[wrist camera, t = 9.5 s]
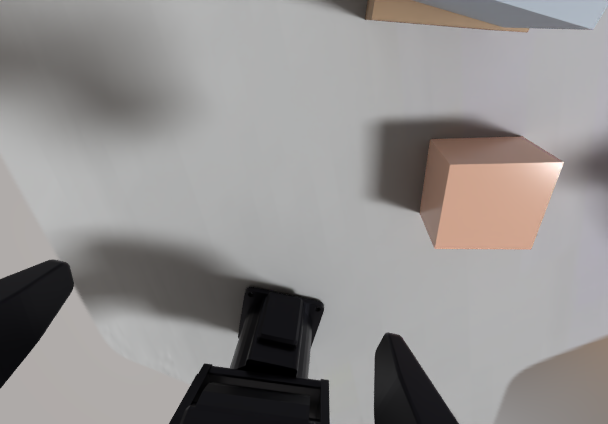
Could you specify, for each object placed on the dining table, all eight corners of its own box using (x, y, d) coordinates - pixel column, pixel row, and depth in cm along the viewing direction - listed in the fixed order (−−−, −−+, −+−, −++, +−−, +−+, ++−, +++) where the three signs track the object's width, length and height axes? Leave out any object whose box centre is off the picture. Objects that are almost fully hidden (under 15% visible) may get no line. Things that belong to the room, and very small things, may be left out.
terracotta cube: (499, 211, 21) (531, 249, 17) (419, 211, 21) (434, 248, 18) (521, 135, 18) (563, 162, 15) (429, 138, 19) (450, 164, 15)
